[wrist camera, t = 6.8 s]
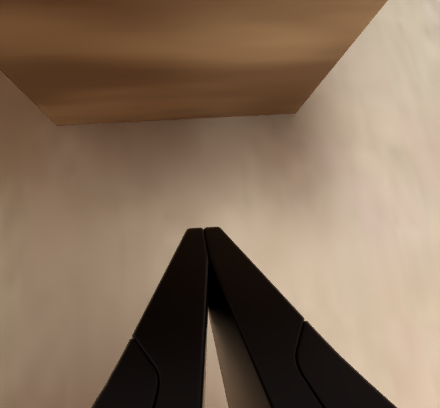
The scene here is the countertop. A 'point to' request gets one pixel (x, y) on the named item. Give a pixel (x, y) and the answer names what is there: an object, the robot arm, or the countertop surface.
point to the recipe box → (174, 55)
